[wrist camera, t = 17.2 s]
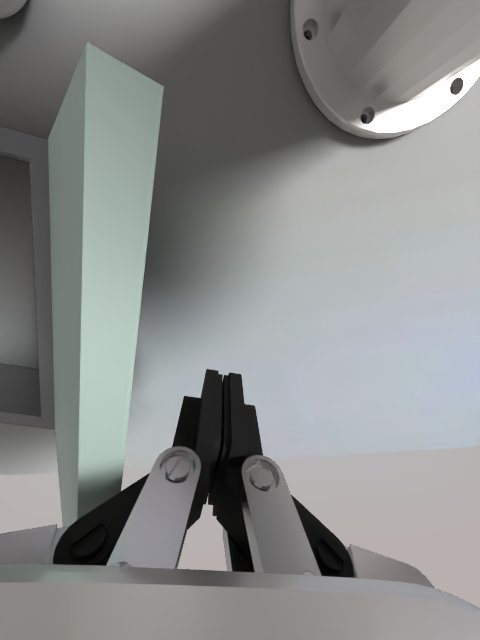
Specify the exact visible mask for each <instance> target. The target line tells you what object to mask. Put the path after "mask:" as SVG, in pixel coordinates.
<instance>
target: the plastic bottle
mask: <svg viewBox="0 0 480 640" xmlns="http://www.w3.org/2000/svg"><path fill="white" fill-rule="evenodd" d="M26 1H27V0H0V19H3V18H7V17H10V16H12V15H14V14H15V13H17V12H18V11H19V10H20V9H21V8H22V7H23V6H24V4H25V2H26Z"/></svg>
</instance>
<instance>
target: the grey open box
mask: <svg viewBox="0 0 480 640" xmlns="http://www.w3.org/2000/svg"><path fill="white" fill-rule="evenodd" d="M0 155H3V156H7V157H11V158H15V159H18V160H22V161H26V162H29V170H30V191H31V212H32V233H33V254H34V275H35V296H36V317H37V338H38V359H39V370H38V369H31V368H25V367H18V366H12V365H6V364H0V423H6V424H14V425H22V426H30V427H38V428H46V429H54V430H55V408H54V367H53V325H52V284H51V242H50V201H49V159H48V139H44V138H40V137H37V136H33V135H30V134H26V133H22V132H19V131H15V130H12V129H8V128H4V127H1V126H0Z"/></svg>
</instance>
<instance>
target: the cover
mask: <svg viewBox="0 0 480 640" xmlns="http://www.w3.org/2000/svg"><path fill="white" fill-rule="evenodd" d="M163 90H164V86H162V85H160V84H159V83H157V82H155V81H154V80H152V79H150V78H148V77H147V76H145V75H143V74H141V73H140V72H138V71H136V70H135V69H133V68H131V67H129V66H128V65H126V64H124V63H122V62H121V61H119V60H117V59H115V58H114V57H112V56H110V55H109V54H107V53H105V52H103V51H102V50H100V49H98V48H96V47H95V46H93V45H91V44H90V43H88V42H86V44H85V47H84V49H83V52H82V54H81V57H80V59H79V62H78V64H77V67H76V69H75V72H74V75H73V77H72V80H71V82H70V85H69V87H68V90H67V92H66V95H65V97H64V100H63V102H62V105H61V107H60V110H59V113H58V115H57V118H56V120H55V123H54V125H53V128H52V130H51V133H50V135H49V138H48V159H49V201H50V242H51V284H52V325H53V367H54V408H55V437H56V449H57V461H58V473H59V486H60V497H61V510H62V522H63V527H67V526H70V525H72V524H73V523H74V522H75V521H77V520H78V519H79V518H81V517H82V516H84V515H85V514H87V513H89V512H90V511H92V510H93V509H95V508H96V507H98V506H99V505H101V504H103V503H104V502H106V501H107V500H109V499H110V498H112V497H113V496H115V495H116V494H118V493H120V492H121V484H122V476H123V466H124V457H125V448H126V438H127V429H128V419H129V410H130V401H131V391H132V382H133V372H134V363H135V354H136V344H137V335H138V325H139V316H140V307H141V297H142V288H143V278H144V269H145V259H146V250H147V241H148V231H149V222H150V212H151V203H152V194H153V184H154V175H155V165H156V156H157V147H158V137H159V128H160V118H161V109H162V100H163Z"/></svg>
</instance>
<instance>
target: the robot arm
mask: <svg viewBox="0 0 480 640" xmlns="http://www.w3.org/2000/svg"><path fill="white" fill-rule="evenodd" d="M290 18H291V39H292V44H293V49H294V54H295V59H296V64H297V67H298V70H299V72H300V75H301V78H302V80H303V83H304V86H305V88H306V90H307V91H308V93H309V95H310V96H311V98H312V100H313V102H314V103H315V105H316V106H317V107H318V108H319V110H320V111H321V112H322V113H323V114H324V115H325V116H326V117H327V119H328V120H330V121H331V122H332V123H334V124H335V125H337V126H338V127H339V128H341V129H342V130H344V131H346V132H349V133H351V134H354V135H356V136H359V137H364V138H371V139H384V138H394V137H397V136H400V135H404V134H407V133H410V132H412V131H414V130H416V129H418V128H420V127H422V126H424V125H427V124H429V123H431V122H432V121H434V120H435V119H436V118H438V117H439V116H441V115H442V114H444V113H445V112H447V111H448V110H449V109H451V108H452V107H453V106H454V105H455V104H456V103H457V102H458V101H460V100H461V99H462V98H463V97H464V96H465V95H466V93H467V92H468V91H469V90H470V88H471V87H472V86H473V85H474V83H475V82H476V81H477V80H478V79H479V77H480V0H291V6H290ZM304 36H308V37H309V40H307V39H306V38H305V37H304ZM361 117H362V118H363V123H362V121H361ZM208 493H209V495H208ZM207 497H208V504H209V505H213V516H217V520H218V521H219V523H220V524H221V525H222V526H223V541H224V548H225V557H226V565H227V571H211V570H189V569H177V567H178V563H179V559H180V556H181V552H182V548H183V544H184V540H185V537H186V532H187V530H188V529H189V528H190V527H191V526H192V525H193V524H194V523H195V522H196V521H197V520H198V519H199V518H200V515H201V511H202V507H203V504H206V501H207ZM0 640H480V608H478V607H477V606H475V605H473V604H471V603H469V602H467V601H465V600H463V599H461V598H459V597H457V596H454V595H452V594H450V593H447V592H444V591H442V590H439V589H435V588H434V586H433V585H432V584H431V583H430V581H429V580H428V579H427V577H426V576H425V575H423V574H422V573H421V572H420V571H419V570H418V569H416V568H415V567H412V566H411V565H409V564H406V563H404V562H400V561H397V560H395V559H392V558H389V557H386V556H383V555H380V554H377V553H375V552H372V551H369V550H366V549H363V548H360V547H357V546H354V545H351V544H350V546H349V547H346V546H344V545H343V544H342V542H341V541H340V540H339V539H338V538H337V537H336V536H335V535H334V534H333V533H332V532H331V531H330V530H329V529H327V528H326V527H325V526H324V525H323V524H322V523H321V522H320V521H319V520H318V519H317V518H316V517H315V516H314V515H312V514H311V513H310V512H309V511H308V510H307V509H306V508H305V507H304V506H303V505H302V504H301V503H299V501H297V500H296V499H295V498H294V497H293V496H292V495H291V494H290V491H289V488H288V486H287V483H286V481H285V478H284V475H283V473H282V471H281V469H280V467H279V466H278V465H277V464H276V463H275V462H274V461H273V460H271V459H270V458H268V457H265V456H263V453H262V447H261V440H260V434H259V428H258V422H257V416H256V409H255V406H253V405H246V404H244V396H243V386H242V377H241V374H235V373H229V375H228V376H227V375H224V378H223V382H222V375H221V374H218V371H216V370H209V369H207V370H206V374H205V379H204V384H203V389H202V394H201V398H195V397H188V396H184V399H183V403H182V408H181V412H180V416H179V420H178V425H177V429H176V433H175V437H174V442H173V446H172V447H171V448H169V449H167V450H165V451H164V452H162V453H161V454H160V455H159V457H158V458H157V460H156V462H155V464H154V466H153V468H152V470H151V472H150V473H149V474H147V475H146V476H144V477H143V478H141V479H140V480H138V481H137V482H135V483H134V484H132V485H130V486H129V487H127V488H126V489H124V490H123V491H121V492H120V493H118V494H116V495H115V496H113V497H112V498H110V499H109V500H107V501H106V502H104V503H103V504H101V505H99V506H98V507H96V508H95V509H93V510H92V511H90V512H89V513H87V514H85V515H84V516H82V517H81V518H79V519H78V520H77V521H75V522H74V523H73V524H72V525H70V526H67V527H62V528H57V524H56V525H50V526H44V527H38V528H32V529H26V530H20V531H14V532H8V533H2V534H0Z"/></svg>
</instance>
